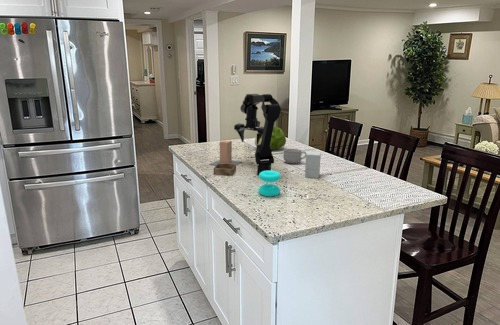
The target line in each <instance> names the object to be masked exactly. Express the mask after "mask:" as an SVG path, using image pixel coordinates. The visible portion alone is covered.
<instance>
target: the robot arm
mask: <svg viewBox="0 0 500 325" xmlns="http://www.w3.org/2000/svg"><path fill="white" fill-rule="evenodd" d="M260 103H261V107H260V108H261V110H262V116H263V118H264V124H263V126H261V121H259V120H258V116H257V114H258V110H259V108H258V106H257V105H258V104H260ZM265 103H270V104H265ZM240 112H242V114H245V115H246V118H245V123H240V122H238V123H235V124H234V126H233V129H234V130H235V131H236V132H237V133H238V136H239V137H240V138H239V139H240V140H241V142H242V143H244V140H245V131H246V130H248V131H254V132H257V133H256V136H257V147H256V146H255V153H254V158H255V164H256V165H257V166H256V168H257V171H256V175H257V176H259V174H260V173H261V172H262V171H267V170H271V171H272V164H274V163H275V159H274V155H273V150H271V148H270V143H271V138H272V133H273V128H274V127H275V123H276V122H277V121H278V119H279V118H280V115H281V114H282V113H281V112H282V107H281V105H280V104H279V101H277V99H275V98H274V97H273V95H272V94H270V93H263V94H258V93H247V94H245V96H244V99H243V100H242V104H241V106H240ZM261 136H262V140H261V144H260V145H258V143H259V141H260V138H261Z"/></svg>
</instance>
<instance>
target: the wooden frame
mask: <svg viewBox="0 0 500 325" xmlns="http://www.w3.org/2000/svg"><path fill="white" fill-rule="evenodd" d="M236 171H237V165H236V164H224V163H217V165H216V166H214V167H213V175H214V174H216V175H215V176H228V177H229V176H234V174H235V173H236Z"/></svg>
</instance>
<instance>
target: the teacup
mask: <svg viewBox="0 0 500 325" xmlns="http://www.w3.org/2000/svg"><path fill="white" fill-rule="evenodd" d="M282 151H283V153H282V154H283V161H284V162H286V163H287V164H292V165H293V164H298V163H299V162H301V161H302V160H304V159H306V153H307V152H306V151H305V150H303V151H302V149H298V148H285V149H284V148H283V150H282ZM303 154H305V155H304V156H302V155H303Z"/></svg>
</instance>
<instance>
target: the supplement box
mask: <svg viewBox="0 0 500 325" xmlns="http://www.w3.org/2000/svg"><path fill="white" fill-rule="evenodd" d="M306 151H307V150H306ZM321 155H322V153H321V152H320V151H309V150H308V151H307V152H306V157H305V166H304V167H305V170H304V177H305V178H309V179H310V178H312V179H319V178H320V173H321Z"/></svg>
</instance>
